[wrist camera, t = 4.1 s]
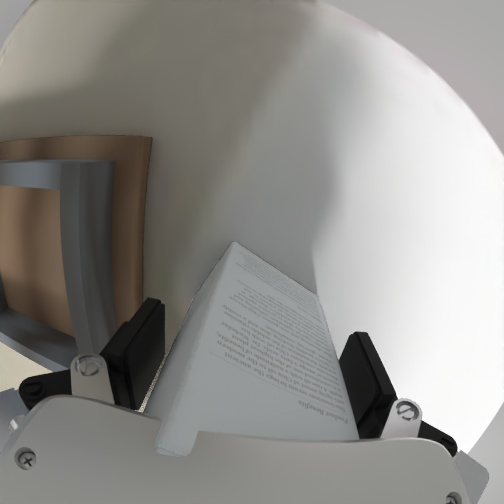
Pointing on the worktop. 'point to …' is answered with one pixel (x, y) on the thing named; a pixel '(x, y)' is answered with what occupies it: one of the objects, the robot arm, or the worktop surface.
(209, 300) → the skincare box
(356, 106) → the worktop surface
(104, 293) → the socket stand
